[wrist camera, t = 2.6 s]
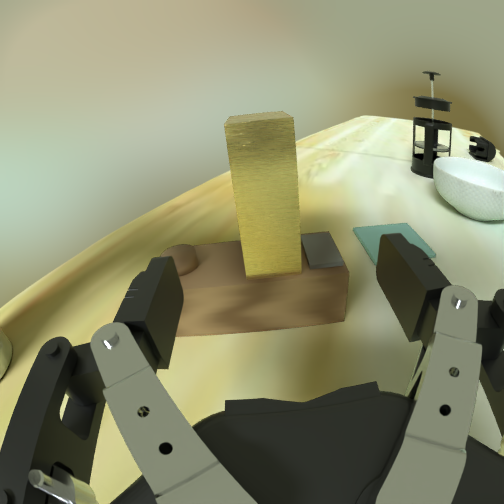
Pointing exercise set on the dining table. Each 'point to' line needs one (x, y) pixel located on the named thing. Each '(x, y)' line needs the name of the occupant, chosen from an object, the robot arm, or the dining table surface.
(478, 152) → the end cap
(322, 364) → the dining table surface
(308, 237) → the body
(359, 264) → the dining table surface
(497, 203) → the cereal bowl
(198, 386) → the dining table surface
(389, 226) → the mat
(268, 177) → the brushed brass block
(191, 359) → the dining table surface
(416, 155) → the french press
